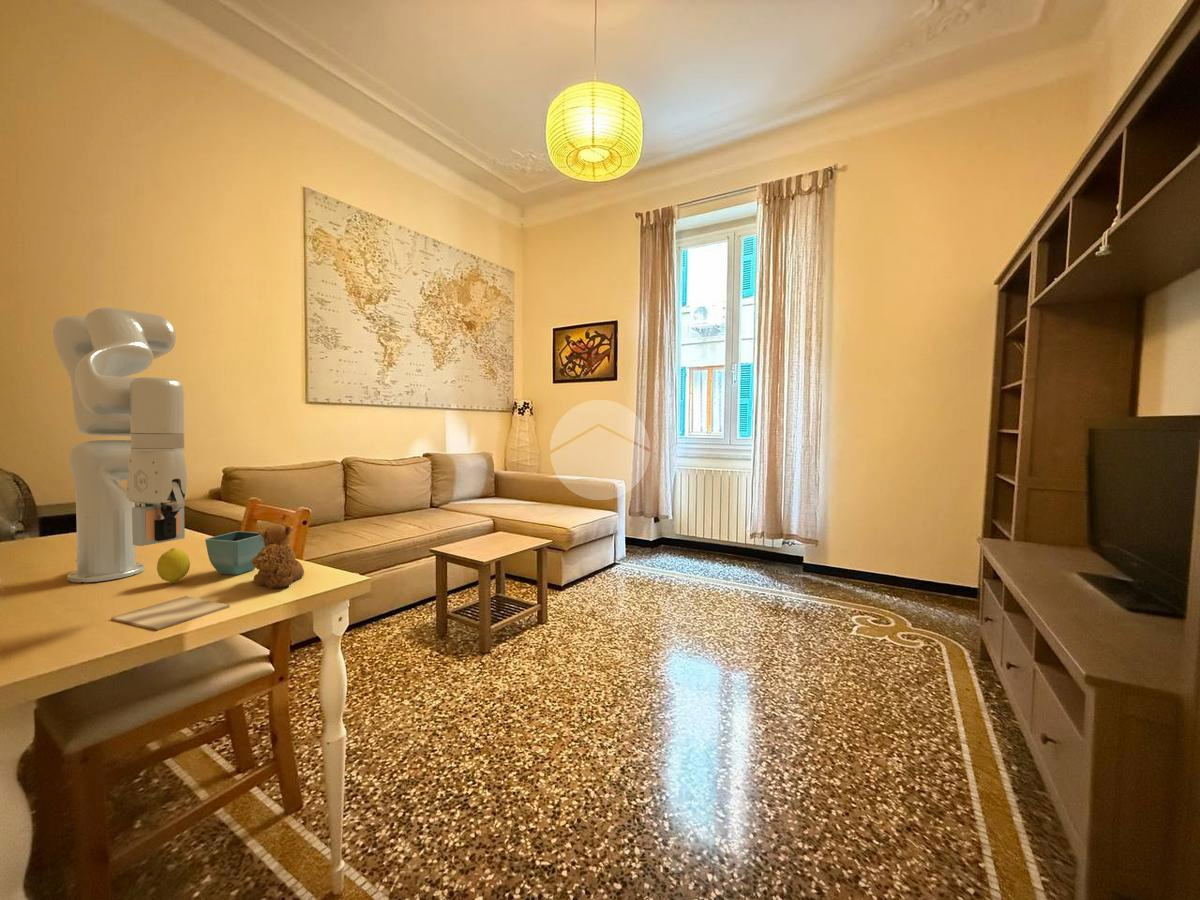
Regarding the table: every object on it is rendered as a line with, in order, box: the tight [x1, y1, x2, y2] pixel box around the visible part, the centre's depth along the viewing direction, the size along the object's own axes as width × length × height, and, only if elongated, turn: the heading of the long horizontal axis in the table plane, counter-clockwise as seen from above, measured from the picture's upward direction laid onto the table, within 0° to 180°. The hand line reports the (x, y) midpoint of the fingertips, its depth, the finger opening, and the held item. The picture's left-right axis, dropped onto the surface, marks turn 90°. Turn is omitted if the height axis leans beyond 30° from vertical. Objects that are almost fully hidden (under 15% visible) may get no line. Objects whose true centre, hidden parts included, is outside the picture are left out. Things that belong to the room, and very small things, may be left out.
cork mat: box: [111, 595, 230, 631], centre depth 91 cm, size 13×12×1 cm
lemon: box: [156, 547, 191, 584], centre depth 108 cm, size 6×6×8 cm
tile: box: [132, 504, 186, 547], centre depth 92 cm, size 3×7×7 cm, turn 161°
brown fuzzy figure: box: [251, 524, 305, 589], centre depth 109 cm, size 10×14×13 cm
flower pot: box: [204, 530, 265, 576], centre depth 117 cm, size 9×9×9 cm
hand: (159, 537), depth 92 cm, fingers closed on tile, 2 cm apart
